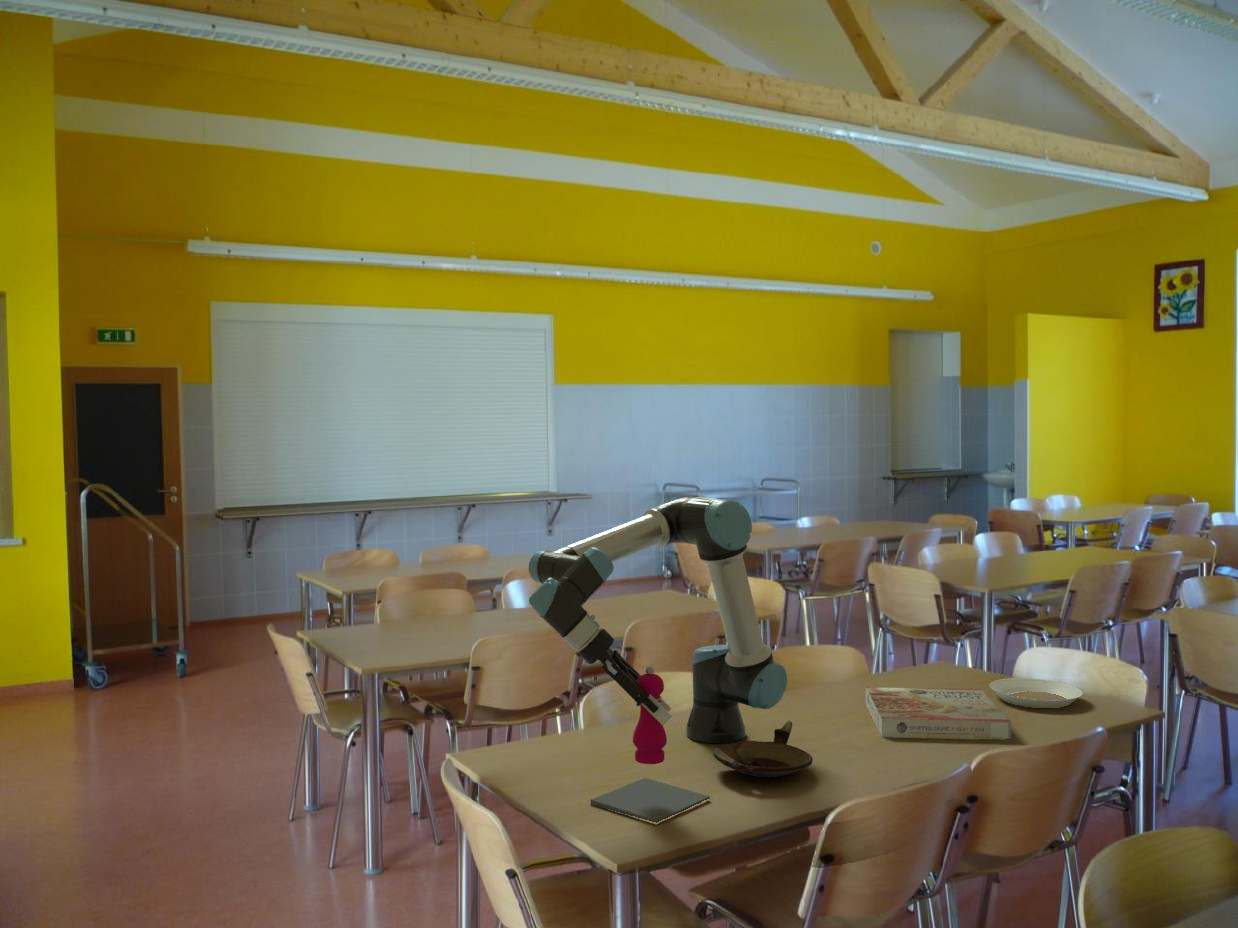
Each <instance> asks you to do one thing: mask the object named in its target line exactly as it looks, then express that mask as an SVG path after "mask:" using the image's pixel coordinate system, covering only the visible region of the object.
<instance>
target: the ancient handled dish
mask: <svg viewBox="0 0 1238 928" xmlns="http://www.w3.org/2000/svg"><path fill="white" fill-rule="evenodd" d="M792 728H793V722H792V720H790V719H789V720H787V721H786V722H785V723H784V725H783V726H782V727H781V728H775V729H774V732H773V733H774V736H773V741H759V740H757V741H756V740H742V741H741V740H739V741H737V743H736V744H734V745H733V744H732V745H731V749H732V750H733V752H734V753H735V755H736V757H737V758H738V759H739V760H740V762H739V761H737V760H735V759H733V758H732V757H731V756H730V757H729V756H728V754H726V753H724V752H723V751H722V750H721V749H720V748H718V747H715V748H714V749H713V750H712V754H713V757H714V759H716V760H717V761H718V762H719V763H721V764H723V765H724V766H726V767H727V768H729V769H732V770H734V771H737V772H739V773H741V774H745V775H749V776H752V777H759V778H777V777H782V776H786V775H791V774H793V773H797V772H799V771H802V770H803V769H806V768H808V767H809V766H811V765H812V764H813V761H814V760H813V759H814V757H812V755H811V754H810V753H808V752H806V751H805V750H804V749H801V748H799V747H796V746H792V745H789V744H788V742H789V739H790V736H791V732H792ZM754 764H755V765H756V766H754Z"/></svg>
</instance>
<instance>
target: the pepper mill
mask: <svg viewBox="0 0 1238 928" xmlns="http://www.w3.org/2000/svg"><path fill="white" fill-rule="evenodd" d="M640 675H641V674H640ZM637 682H638V683H639V684H640V686H641V687H642V688H643V689H644V690H645V691H646V692H647V693H648V694H651V695H652V696H653V697H654V698H655V699H656V700H657V701H658V702H659V703H660V704H661V703H662V702H661V699H663V698H662V696H661V695H662V693H663V692H664V690H665V684H664V681H663V678H662V677H661V676H659V674H656V673H655V669H654V668H653V667H652V666H646V669H645V673H643V674H642V675H641V676H640V677H639V678H638V679H637ZM639 708H640V709H639V711H640V713H639V718H638V722H637V724H636V726H635V728H634V731H633V735H632V743H633V746H634V747H635V748H636V750H635V751H634V760H635V762H636V763H639V764H642V765H656V764H661V763H663V762H664V761H665V750H664V749H663V748H664V747H665V746H666V745H667V743H668V742H667V734H666V731H665V730H666V729H665V727H664V725H662V724H661V723H660V722H659V721H658V720H657V719H656V718H655V717H654V716H653V715H652V714H651V713H650V712H649V711H648V710H647V709H646V708H645V707H644V706H643V705H642V704H640V705H639Z"/></svg>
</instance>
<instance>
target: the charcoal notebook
mask: <svg viewBox="0 0 1238 928" xmlns="http://www.w3.org/2000/svg"><path fill="white" fill-rule="evenodd" d="M710 797H711V795H706V794H703V793H700V792H696V791H692V790H689V789H686V788H684V787H683V788H682V787H679V786H676V785H675V786H674V785H673V784H668V783H664V782H661V781H658V780H654V779H651V778H647V777H644V778H641V779H639V780H637V781H633V782H631V783H628V784H626V785H624V786H622V787H618V788H616V789H614V790H611V791H609V792H607V793H604V794H601V795H599V796H595V797H593V798H591V799H590V805H591V804H592V806H595V805H596V806H595V807H598V806H599V807H598V808H601V807H603V808H602V809H604V808H606V809H605V810H607V809H610V810H613V811H616V812H620V813H623V814H627V815H630V816H635V817H638V818H642V819H645V820H649V821H652V822H656V823H657V822H659V821H661V820H663V819H666V818H668V817H670V816H672V815H675V814H677V813H679V812H682V811H684V810H686V809H688V808H690V807H692V806H694V805H696V804H699V803H701V802H702V801H704V800H707V799H709V798H710ZM710 799H711V798H710ZM610 810H609V811H610ZM613 811H612V812H613ZM616 812H615V813H616Z"/></svg>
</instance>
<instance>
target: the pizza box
mask: <svg viewBox="0 0 1238 928" xmlns="http://www.w3.org/2000/svg"><path fill="white" fill-rule="evenodd" d="M865 705H866V707H867V710H868V709H869V710H868V711H870V712H869V713H870V715H871V717H872V720H873V722H874V724H875V726H876V728H877V730H878V731H879V733H880V737H881V738H898V739H899V738H905V739H908V738H910V739H912V738H913V739H939V740H940V739H946V740H947V739H951V740H978V739H1011V740H1012V721H1011V720H1010V718H1009V717H1008V716H1007V714H1005V713H1004V712H1003V711H1002V710H1001V709H1000V708H999V707H998V705H997V704H995V702H994V701H993V700H992V699H991V698H990V697H989V696H988V695H987V694H986V692H984V691H983V690H982V688H941V687H940V688H935V687H932V688H931V687H892V686H891V687H887V686H883V687H881V686H879V687H877V686H865Z"/></svg>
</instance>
